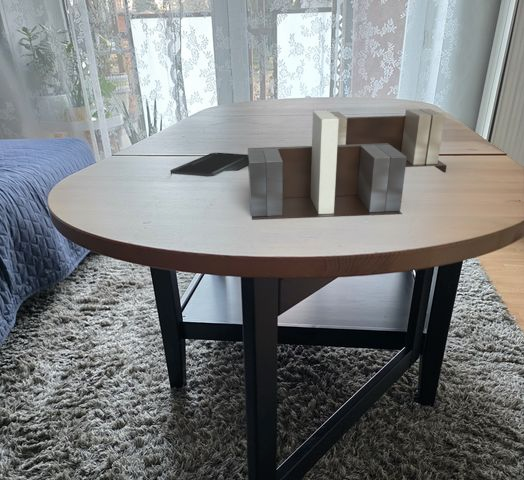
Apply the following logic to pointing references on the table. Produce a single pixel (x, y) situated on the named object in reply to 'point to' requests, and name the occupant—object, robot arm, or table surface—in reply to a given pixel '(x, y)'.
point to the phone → (212, 164)
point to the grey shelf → (346, 187)
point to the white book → (324, 161)
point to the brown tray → (398, 134)
